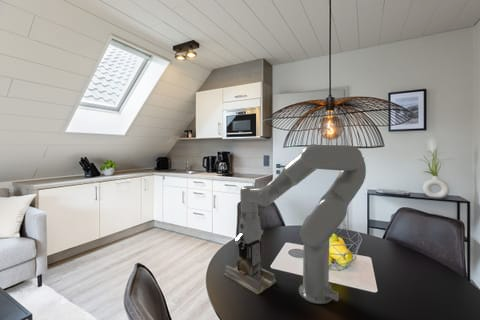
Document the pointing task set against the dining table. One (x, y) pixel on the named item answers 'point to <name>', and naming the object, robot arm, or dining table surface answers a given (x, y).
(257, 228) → the robot arm
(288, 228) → the dining table surface
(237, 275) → the rail
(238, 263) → the coffee box
